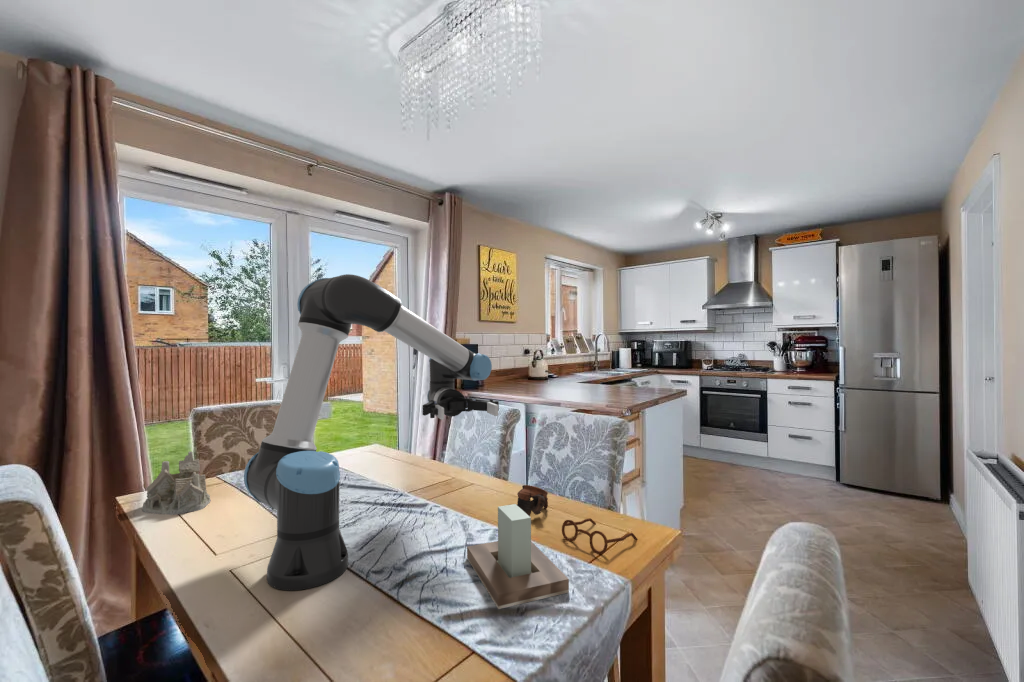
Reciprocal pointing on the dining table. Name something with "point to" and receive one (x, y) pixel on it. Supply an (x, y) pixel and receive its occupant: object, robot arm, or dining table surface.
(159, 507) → the ceramic cottage
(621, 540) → the glasses
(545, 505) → the brown piece
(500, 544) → the grey-green rectangular block
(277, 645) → the dining table surface
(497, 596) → the taupe picture frame
